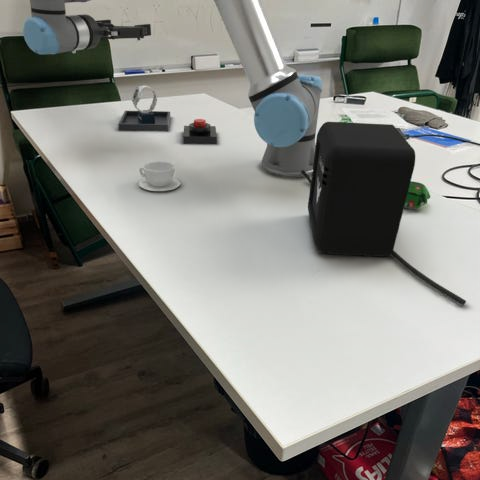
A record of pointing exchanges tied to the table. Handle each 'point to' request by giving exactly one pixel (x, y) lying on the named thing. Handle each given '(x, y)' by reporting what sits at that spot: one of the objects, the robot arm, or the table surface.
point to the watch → (144, 115)
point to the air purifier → (359, 188)
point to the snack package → (416, 195)
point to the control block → (199, 134)
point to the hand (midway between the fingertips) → (129, 27)
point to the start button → (199, 122)
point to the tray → (132, 124)
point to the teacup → (158, 176)
